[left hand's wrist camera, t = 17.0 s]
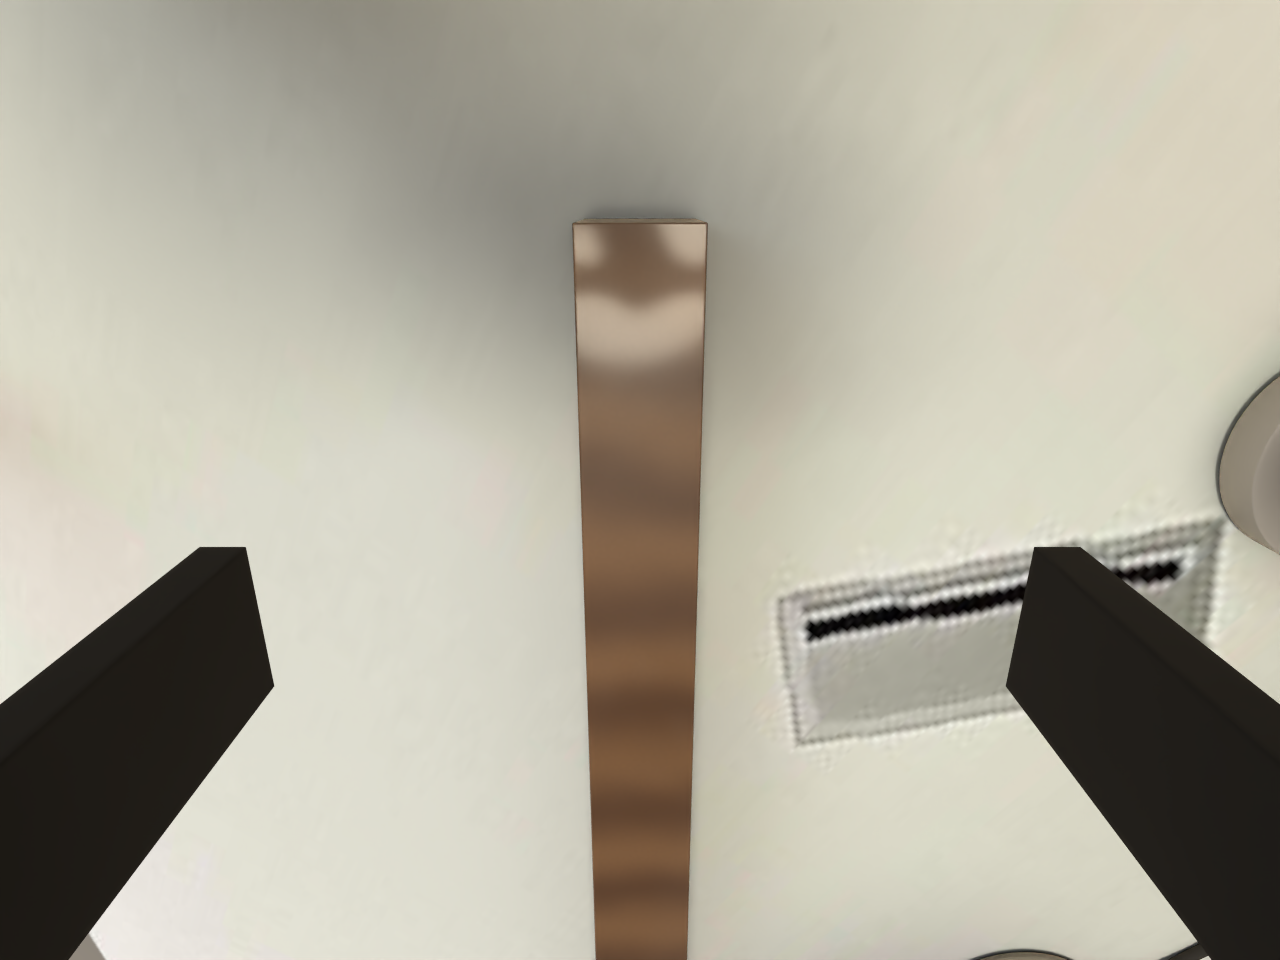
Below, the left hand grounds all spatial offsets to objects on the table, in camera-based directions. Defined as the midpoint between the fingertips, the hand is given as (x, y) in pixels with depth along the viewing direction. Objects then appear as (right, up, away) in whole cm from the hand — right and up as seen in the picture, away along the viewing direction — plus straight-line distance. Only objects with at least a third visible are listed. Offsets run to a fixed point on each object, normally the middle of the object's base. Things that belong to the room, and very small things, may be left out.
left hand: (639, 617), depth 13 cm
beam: (0, -15, +38) cm, 41 cm away
